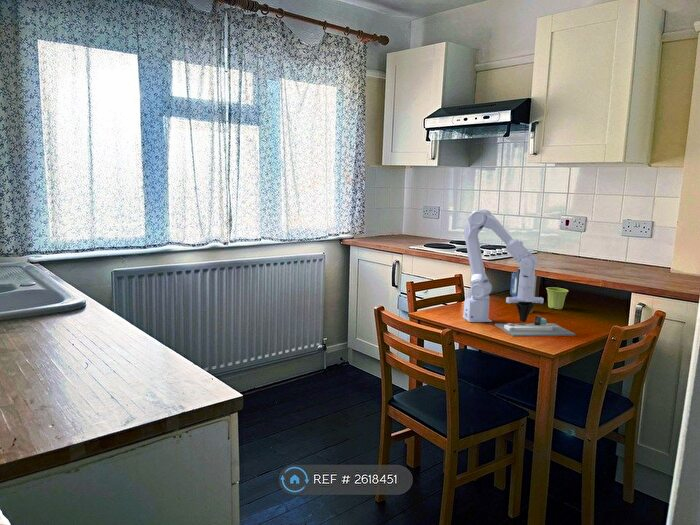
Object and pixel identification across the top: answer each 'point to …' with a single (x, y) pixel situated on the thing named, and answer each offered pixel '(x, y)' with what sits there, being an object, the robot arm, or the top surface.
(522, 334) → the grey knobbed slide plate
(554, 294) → the plant pot
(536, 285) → the protein box
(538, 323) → the black knobbed slide plate
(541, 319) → the teal block
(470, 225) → the robot arm
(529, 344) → the top surface
